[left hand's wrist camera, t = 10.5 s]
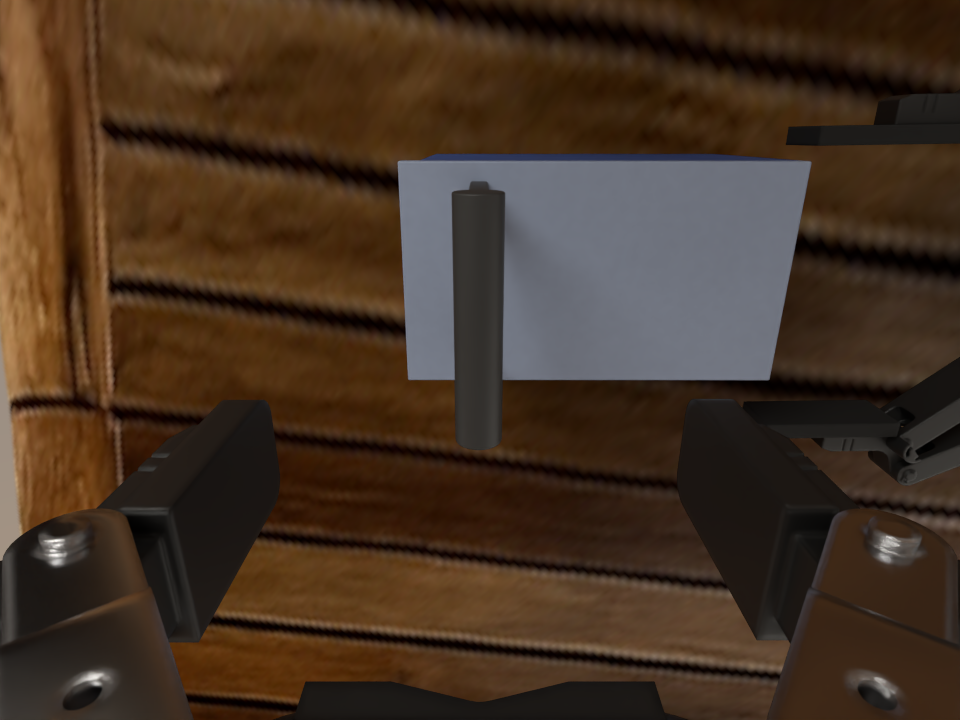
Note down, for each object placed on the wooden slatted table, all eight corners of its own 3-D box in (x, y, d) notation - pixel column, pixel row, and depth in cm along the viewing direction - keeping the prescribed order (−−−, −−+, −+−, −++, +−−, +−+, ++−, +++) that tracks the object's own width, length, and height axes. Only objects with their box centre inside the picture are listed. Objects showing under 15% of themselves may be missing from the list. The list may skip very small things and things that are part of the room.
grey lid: (410, 373, 26) (382, 466, 19) (400, 160, 23) (361, 171, 16) (761, 373, 26) (871, 466, 19) (801, 160, 23) (954, 171, 16)
